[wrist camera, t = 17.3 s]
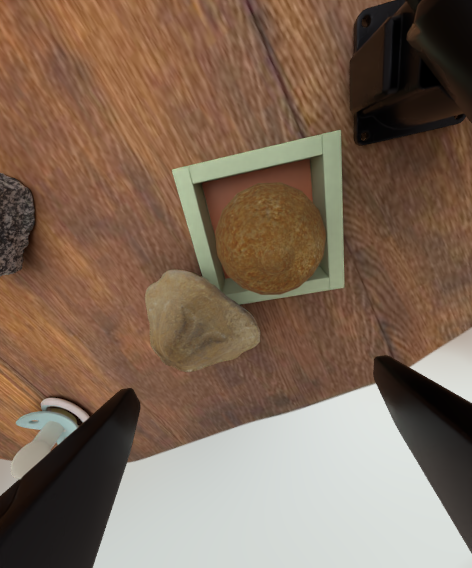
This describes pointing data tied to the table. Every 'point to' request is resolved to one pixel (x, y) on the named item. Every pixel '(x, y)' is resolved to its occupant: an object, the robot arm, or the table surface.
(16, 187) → the rock
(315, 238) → the fruit
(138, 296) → the table surface
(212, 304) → the fossil
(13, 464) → the pacifier
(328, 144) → the holder
